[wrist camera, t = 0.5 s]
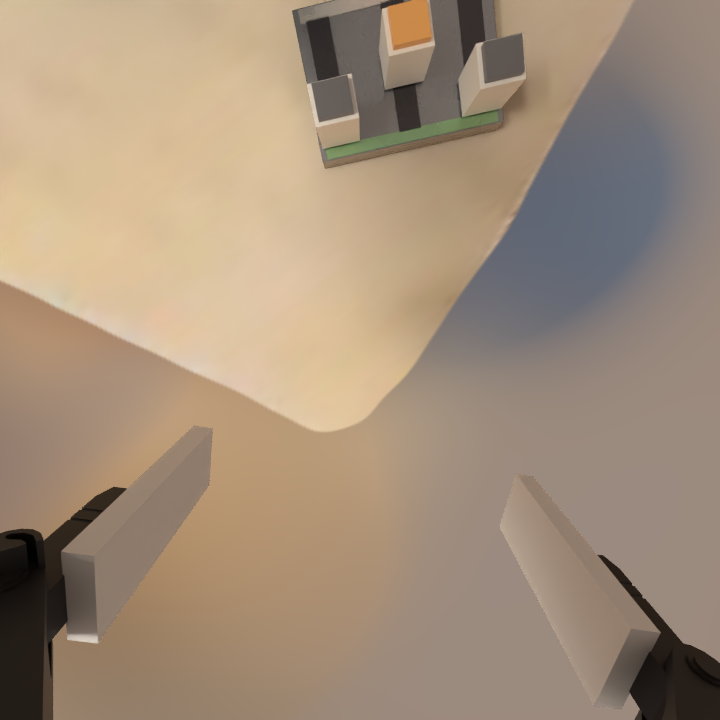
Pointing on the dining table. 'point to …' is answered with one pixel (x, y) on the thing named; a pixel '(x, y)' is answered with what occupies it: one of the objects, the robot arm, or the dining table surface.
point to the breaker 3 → (492, 74)
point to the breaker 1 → (335, 111)
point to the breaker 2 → (406, 42)
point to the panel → (405, 103)
